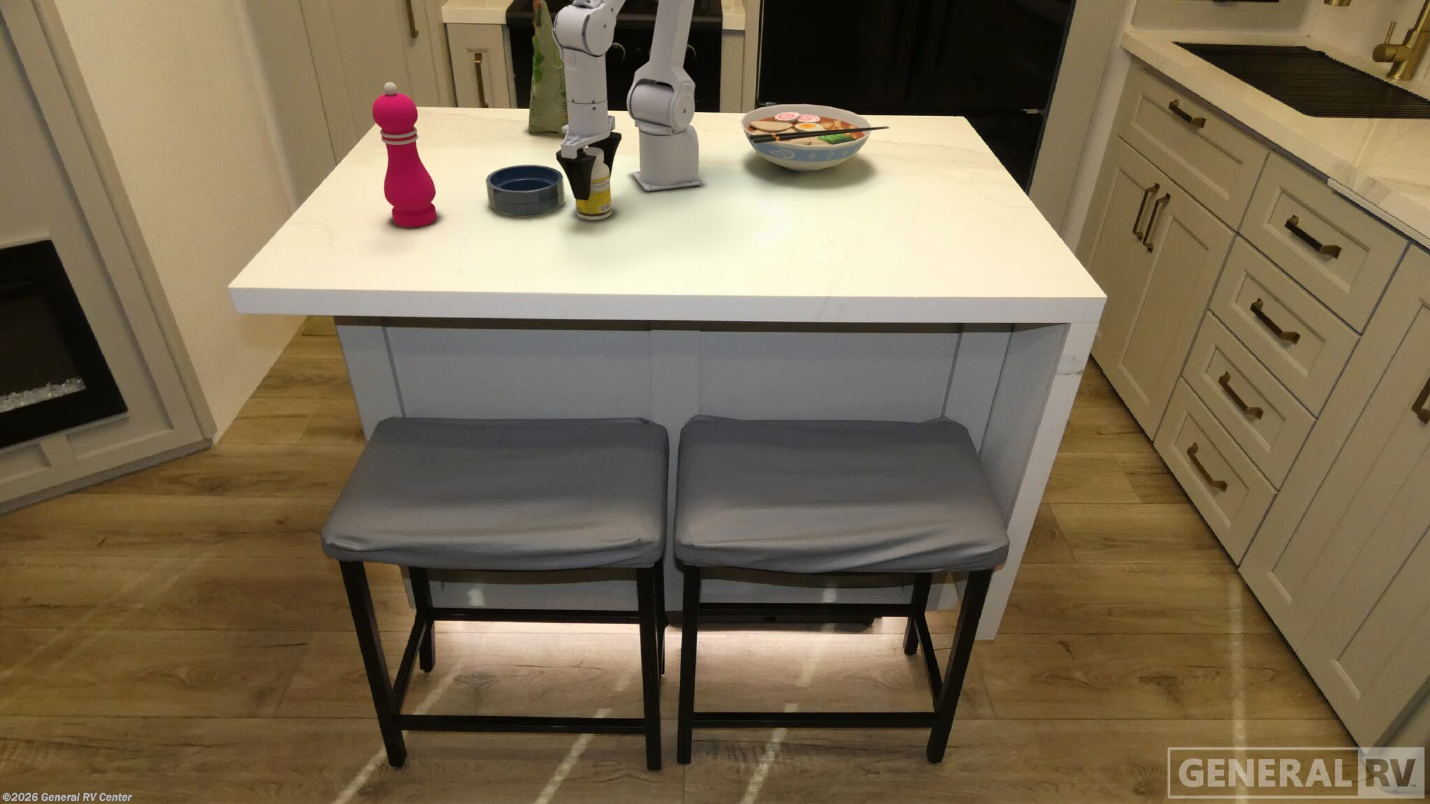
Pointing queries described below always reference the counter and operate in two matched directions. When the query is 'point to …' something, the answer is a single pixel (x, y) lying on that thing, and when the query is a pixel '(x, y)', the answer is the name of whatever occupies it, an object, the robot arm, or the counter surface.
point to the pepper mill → (404, 160)
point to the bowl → (525, 189)
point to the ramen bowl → (806, 135)
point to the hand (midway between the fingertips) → (592, 189)
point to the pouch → (546, 77)
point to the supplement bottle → (596, 190)
